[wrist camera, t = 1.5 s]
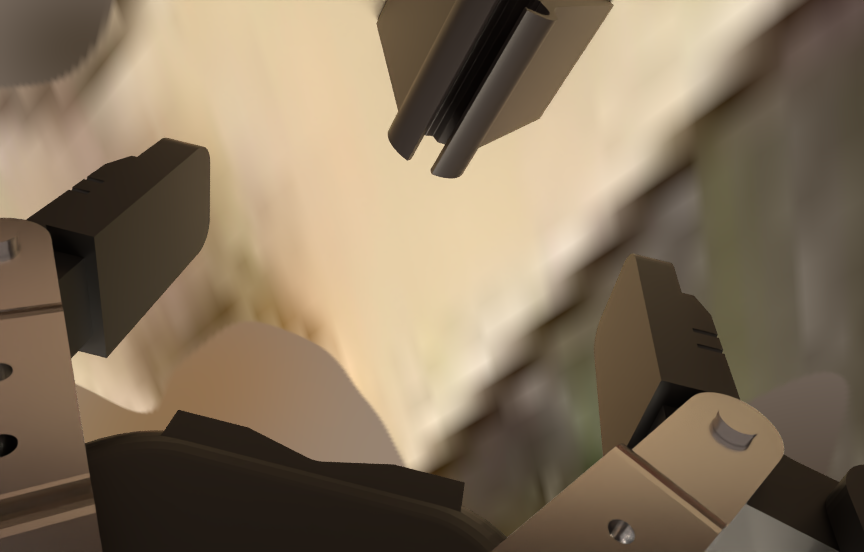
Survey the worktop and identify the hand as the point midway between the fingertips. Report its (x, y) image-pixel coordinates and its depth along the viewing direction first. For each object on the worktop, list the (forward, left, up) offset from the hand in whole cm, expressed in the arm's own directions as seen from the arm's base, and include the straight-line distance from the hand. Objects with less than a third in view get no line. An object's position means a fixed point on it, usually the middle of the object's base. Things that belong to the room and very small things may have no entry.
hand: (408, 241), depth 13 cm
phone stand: (0, 0, -22) cm, 22 cm away
